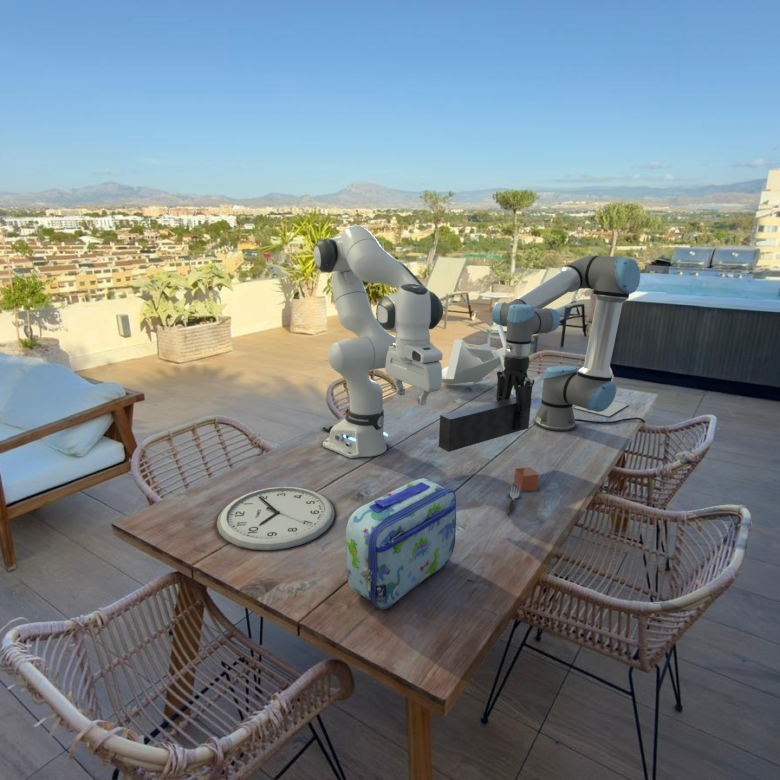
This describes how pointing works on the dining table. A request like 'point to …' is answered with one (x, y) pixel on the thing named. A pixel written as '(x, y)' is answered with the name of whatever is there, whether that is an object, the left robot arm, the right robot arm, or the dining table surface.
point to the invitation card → (609, 411)
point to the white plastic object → (473, 362)
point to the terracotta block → (526, 479)
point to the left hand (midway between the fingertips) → (410, 399)
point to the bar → (479, 424)
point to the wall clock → (275, 518)
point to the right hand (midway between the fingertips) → (510, 426)
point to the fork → (513, 495)
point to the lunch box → (400, 540)
